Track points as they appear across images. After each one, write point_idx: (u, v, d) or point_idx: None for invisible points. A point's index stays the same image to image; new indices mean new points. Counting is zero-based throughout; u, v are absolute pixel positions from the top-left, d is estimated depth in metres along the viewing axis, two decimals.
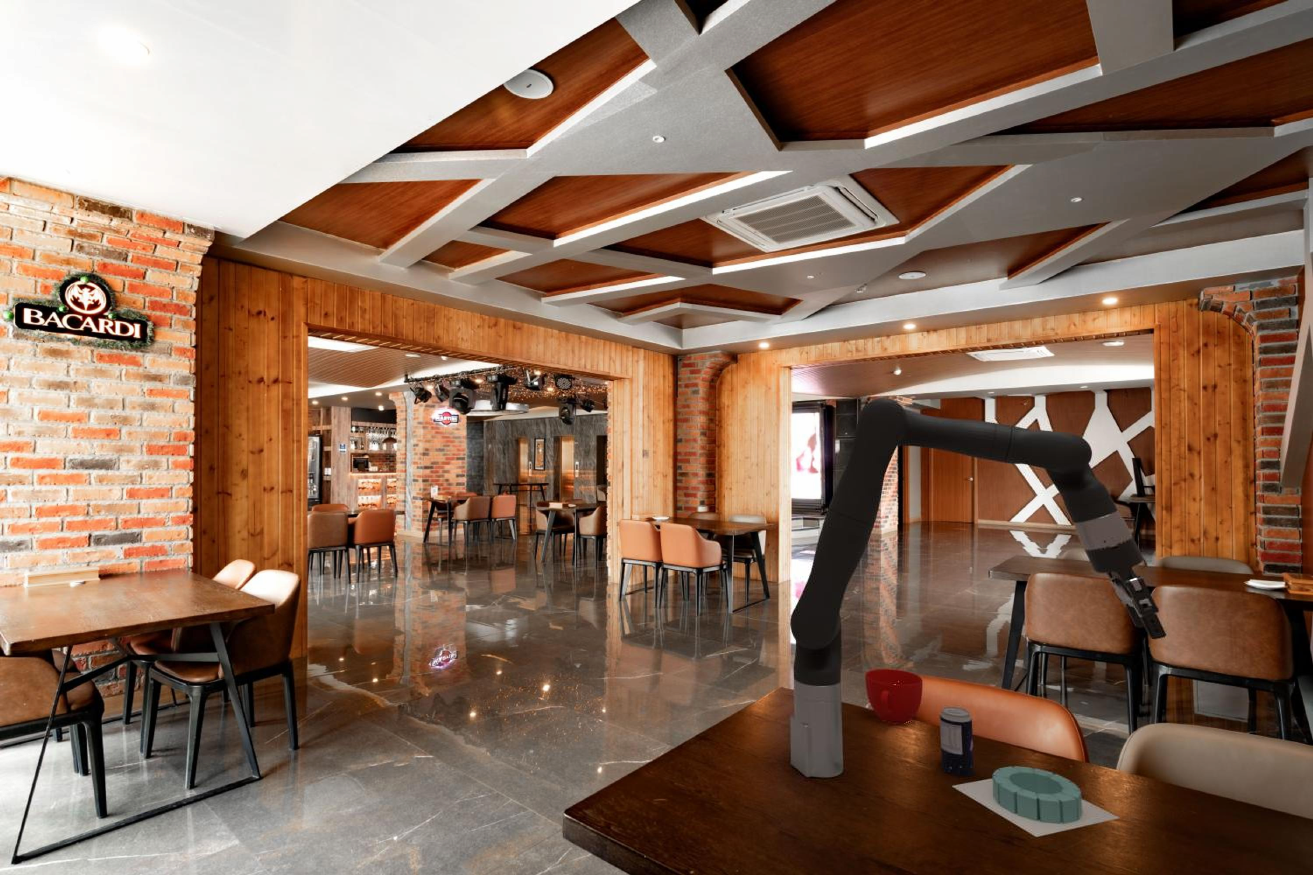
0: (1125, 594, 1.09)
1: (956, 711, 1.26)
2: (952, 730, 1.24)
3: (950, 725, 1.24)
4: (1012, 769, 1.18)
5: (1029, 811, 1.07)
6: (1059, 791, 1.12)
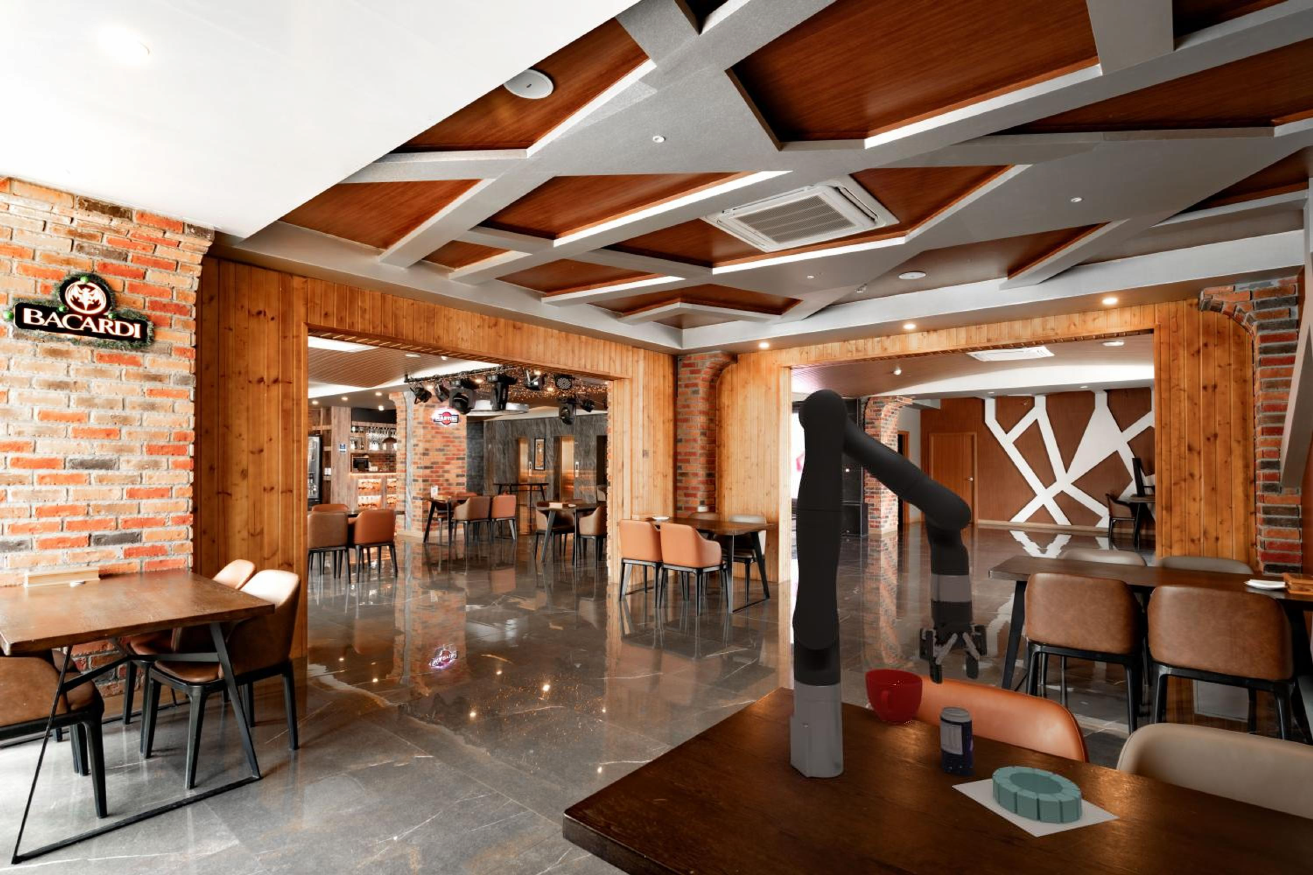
0: (934, 640, 1.28)
1: (956, 711, 1.26)
2: (952, 730, 1.24)
3: (950, 725, 1.24)
4: (1012, 769, 1.18)
5: (1029, 811, 1.07)
6: (1059, 791, 1.12)
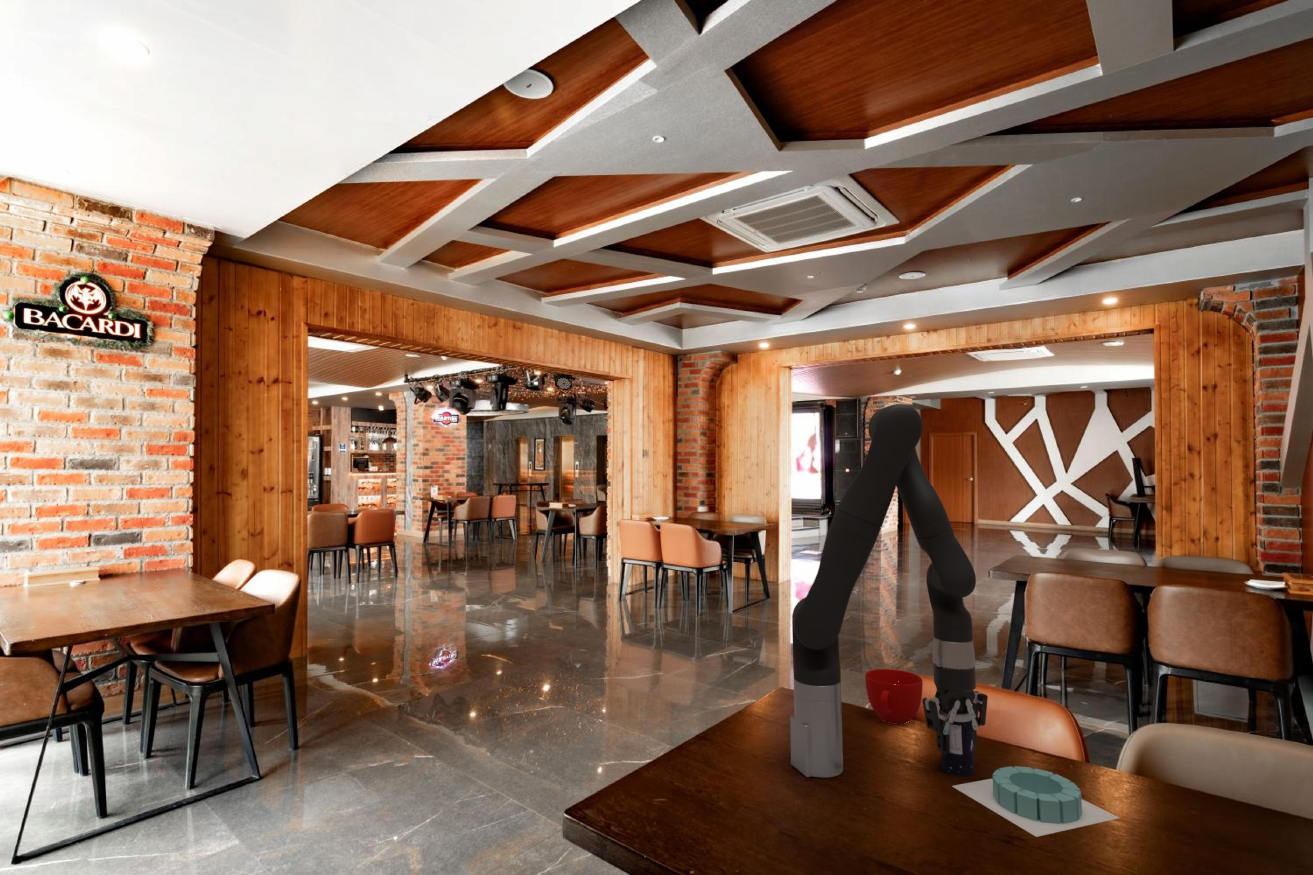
0: (938, 708, 1.27)
1: None
2: (952, 730, 1.24)
3: (950, 725, 1.24)
4: (1012, 769, 1.18)
5: (1029, 811, 1.07)
6: (1059, 791, 1.12)
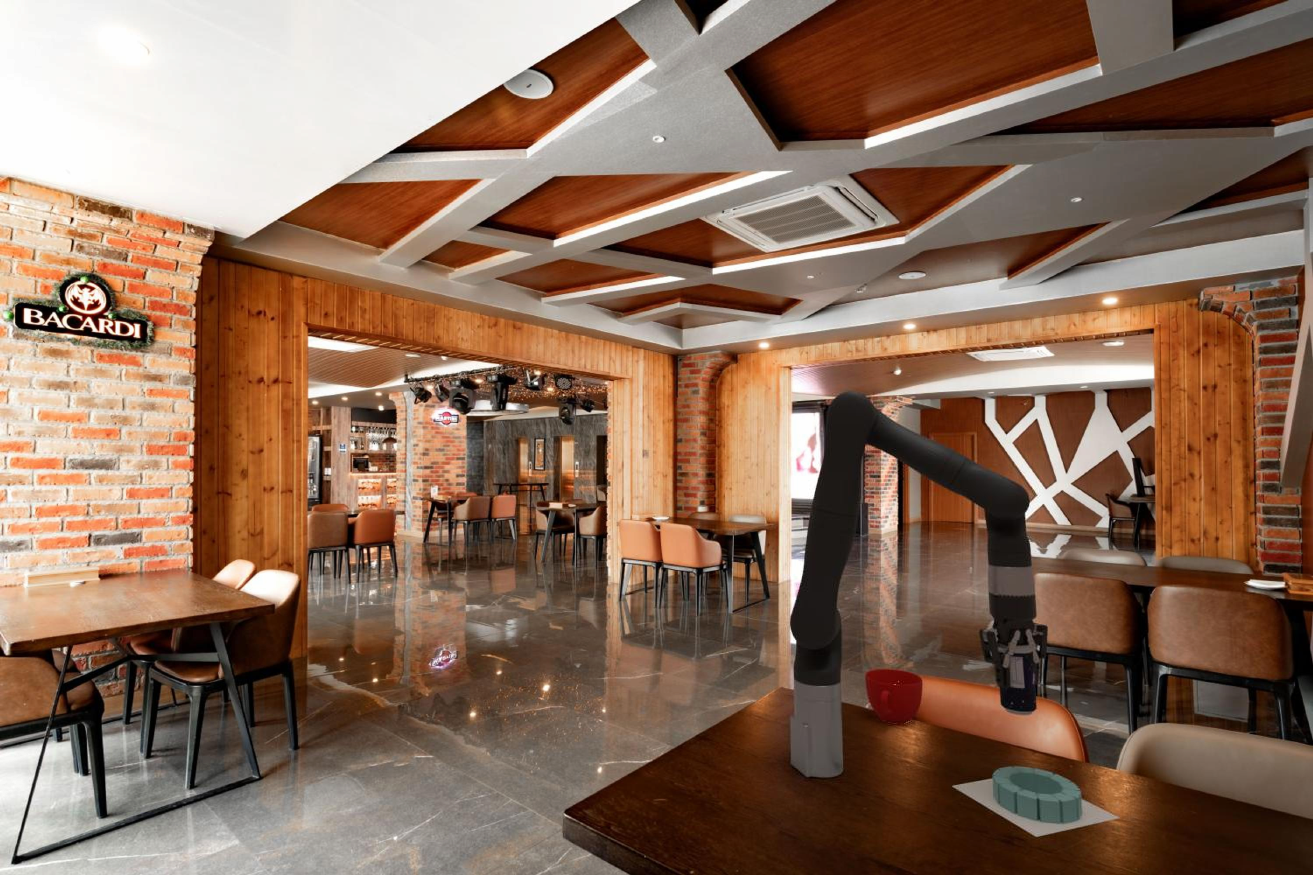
0: None
1: None
2: (1012, 663, 1.15)
3: (1010, 657, 1.15)
4: (1012, 769, 1.18)
5: (1029, 811, 1.07)
6: (1059, 791, 1.12)
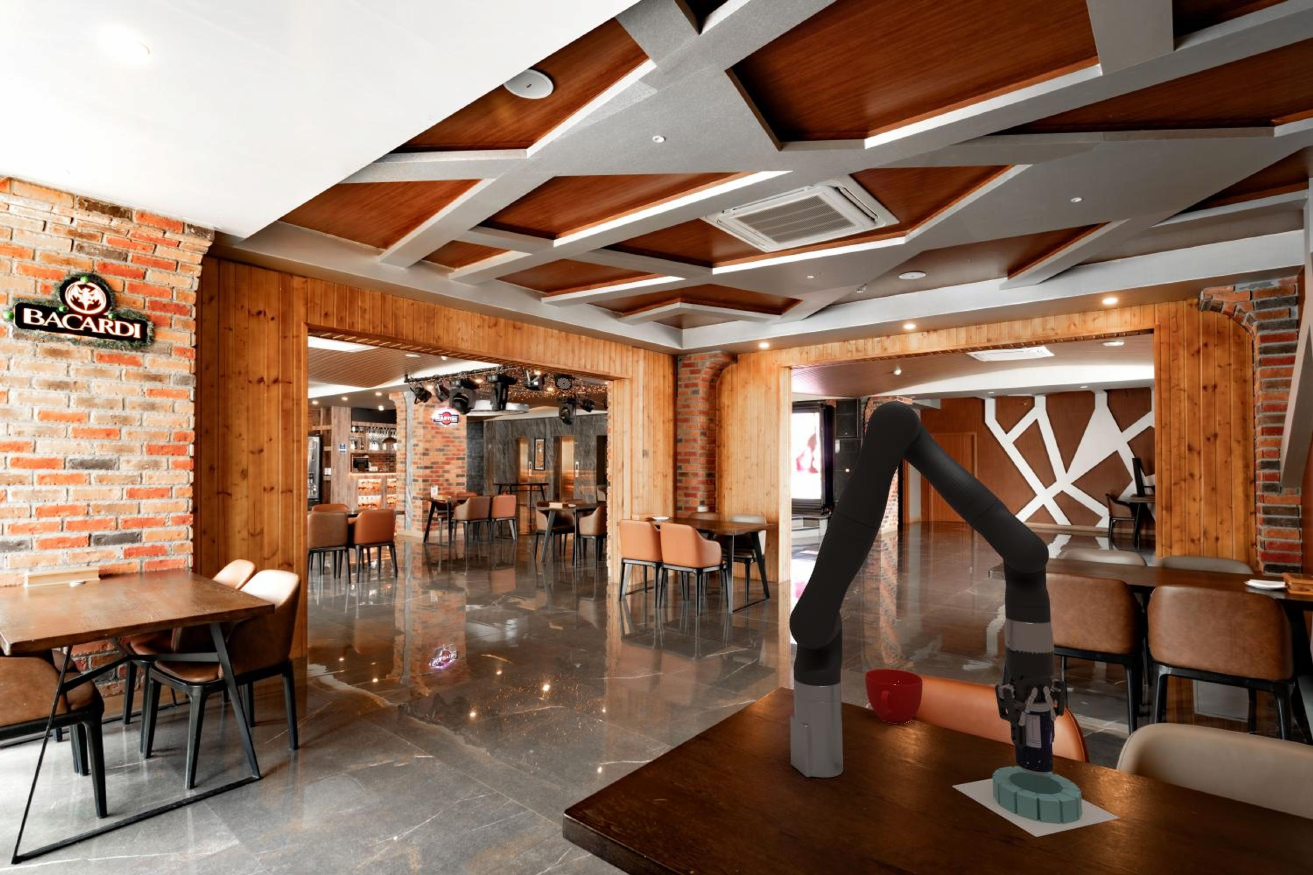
0: None
1: None
2: (1029, 721, 1.11)
3: (1027, 715, 1.11)
4: (1012, 769, 1.18)
5: (1029, 811, 1.07)
6: (1059, 791, 1.12)
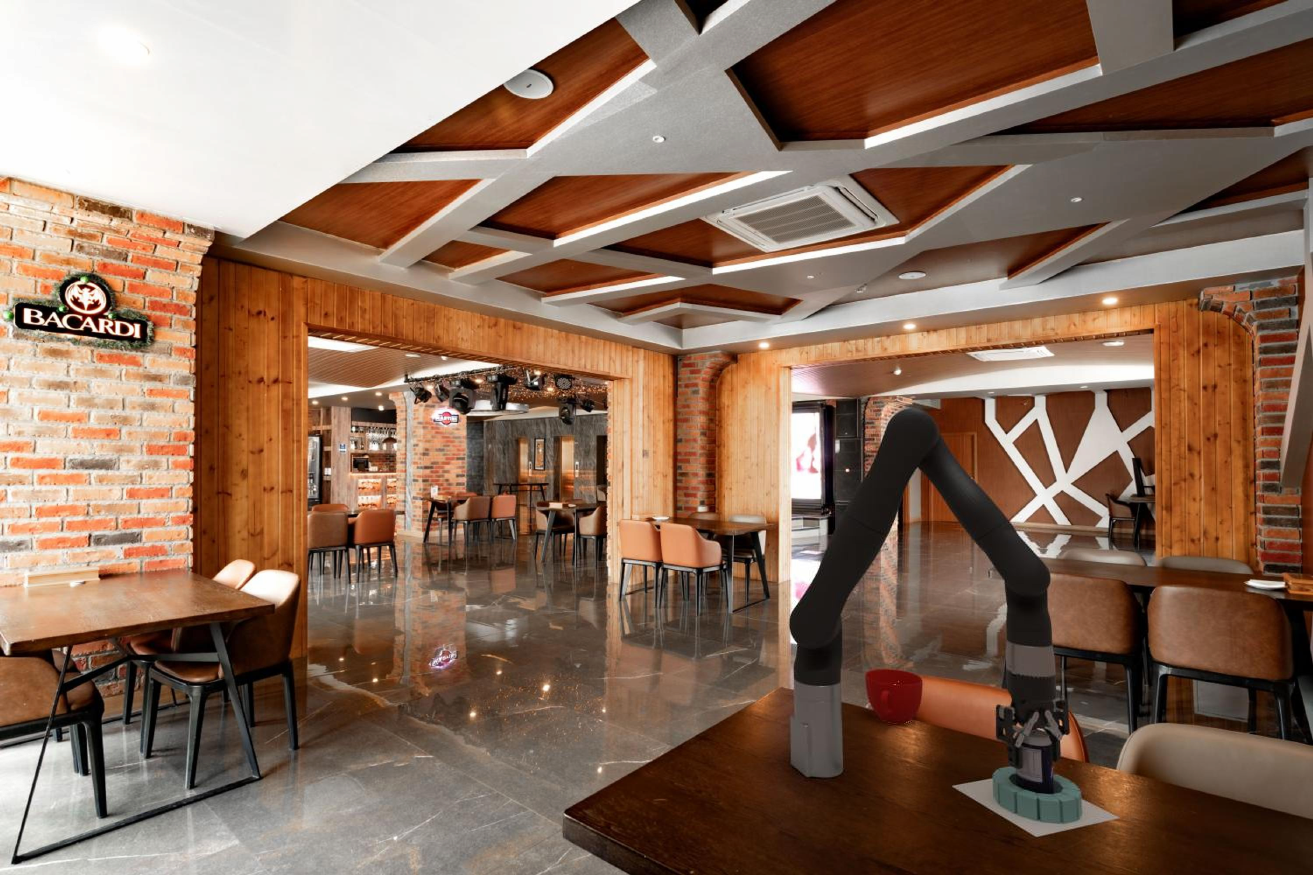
0: None
1: (1033, 733, 1.13)
2: (1030, 755, 1.11)
3: (1028, 749, 1.11)
4: (1012, 769, 1.18)
5: (1029, 811, 1.07)
6: (1059, 791, 1.12)
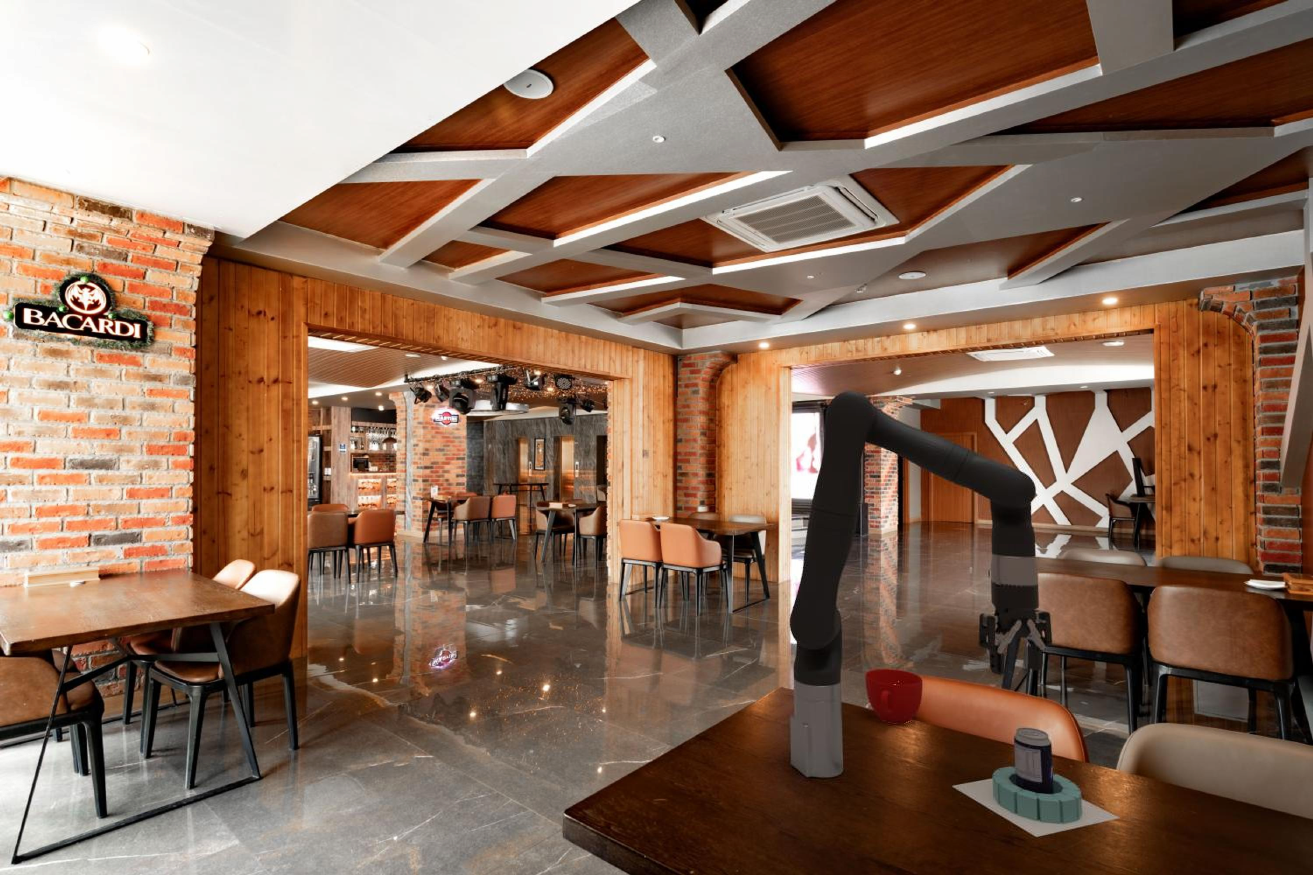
0: (995, 627, 1.17)
1: (1033, 733, 1.13)
2: (1030, 755, 1.11)
3: (1028, 749, 1.11)
4: (1012, 769, 1.18)
5: (1029, 811, 1.07)
6: (1059, 791, 1.12)
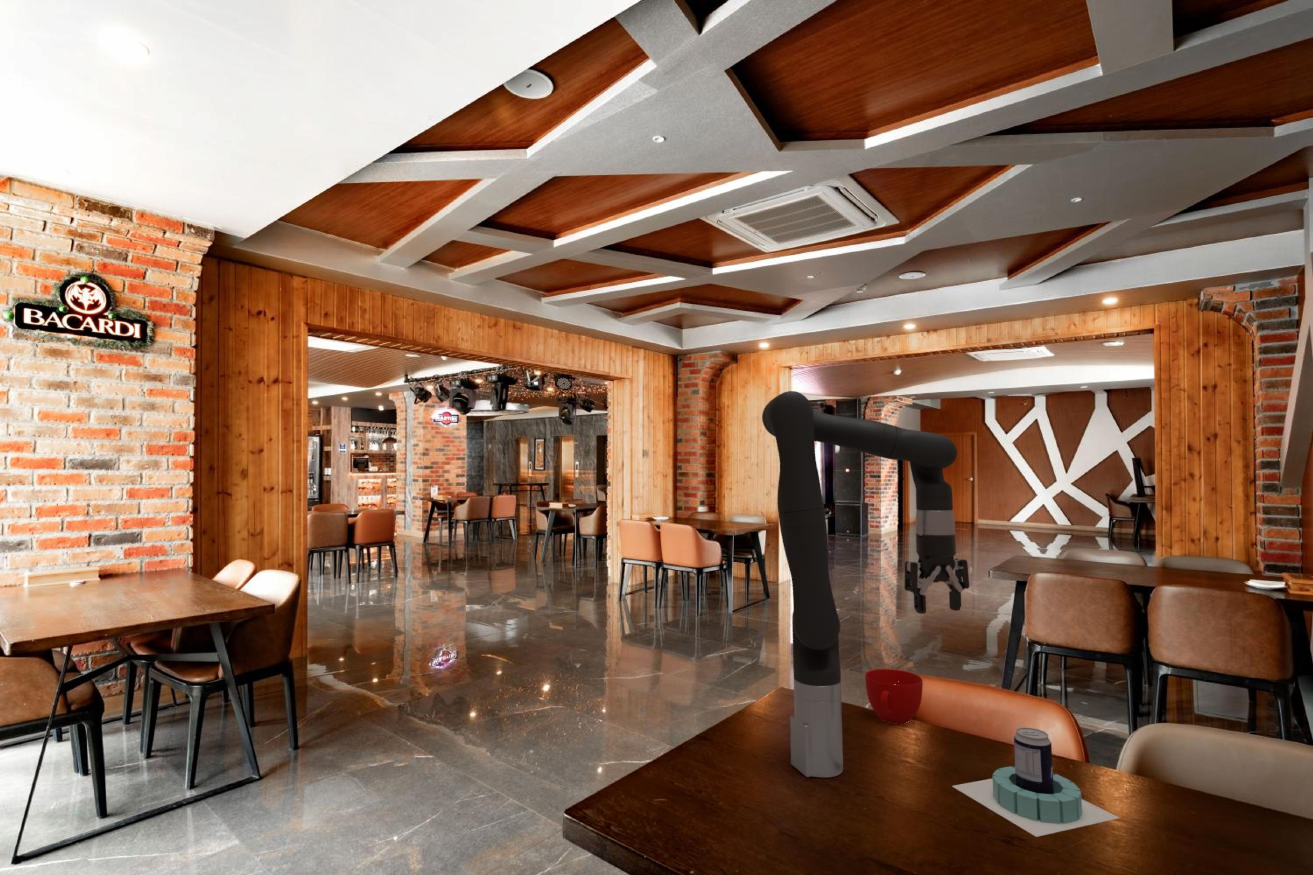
0: (919, 574, 1.34)
1: (1033, 733, 1.13)
2: (1030, 755, 1.11)
3: (1028, 749, 1.11)
4: (1012, 769, 1.18)
5: (1029, 811, 1.07)
6: (1059, 791, 1.12)
